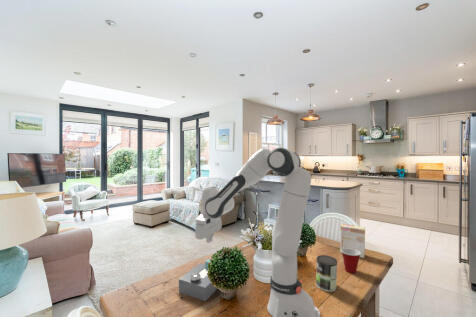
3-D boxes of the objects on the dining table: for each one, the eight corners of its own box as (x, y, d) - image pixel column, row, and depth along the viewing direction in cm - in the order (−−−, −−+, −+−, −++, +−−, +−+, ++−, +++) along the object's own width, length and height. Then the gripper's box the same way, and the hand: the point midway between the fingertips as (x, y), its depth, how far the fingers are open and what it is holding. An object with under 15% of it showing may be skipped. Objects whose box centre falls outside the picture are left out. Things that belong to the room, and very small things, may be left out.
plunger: (202, 287, 110) (202, 274, 110) (196, 292, 106) (196, 279, 106) (194, 284, 112) (194, 272, 112) (188, 289, 108) (188, 276, 108)
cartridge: (207, 273, 124) (208, 258, 124) (215, 275, 122) (215, 260, 121) (195, 284, 113) (195, 268, 113) (203, 287, 111) (203, 270, 111)
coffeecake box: (364, 254, 154) (365, 226, 154) (364, 258, 148) (364, 229, 148) (341, 249, 162) (341, 223, 162) (339, 253, 156) (340, 225, 156)
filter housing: (199, 274, 126) (200, 263, 126) (223, 281, 119) (224, 269, 119) (178, 292, 110) (178, 279, 110) (205, 301, 103) (205, 287, 103)
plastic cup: (351, 265, 139) (352, 246, 139) (364, 274, 128) (365, 254, 128) (336, 266, 137) (336, 247, 137) (348, 276, 126) (349, 255, 126)
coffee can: (320, 291, 112) (320, 264, 111) (313, 280, 122) (313, 254, 122) (340, 292, 112) (341, 264, 112) (331, 280, 122) (332, 255, 122)
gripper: (215, 211, 130) (215, 234, 131) (193, 220, 112) (192, 247, 112) (224, 212, 127) (224, 236, 128) (203, 222, 109) (203, 250, 109)
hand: (209, 241), depth 120 cm, fingers closed
